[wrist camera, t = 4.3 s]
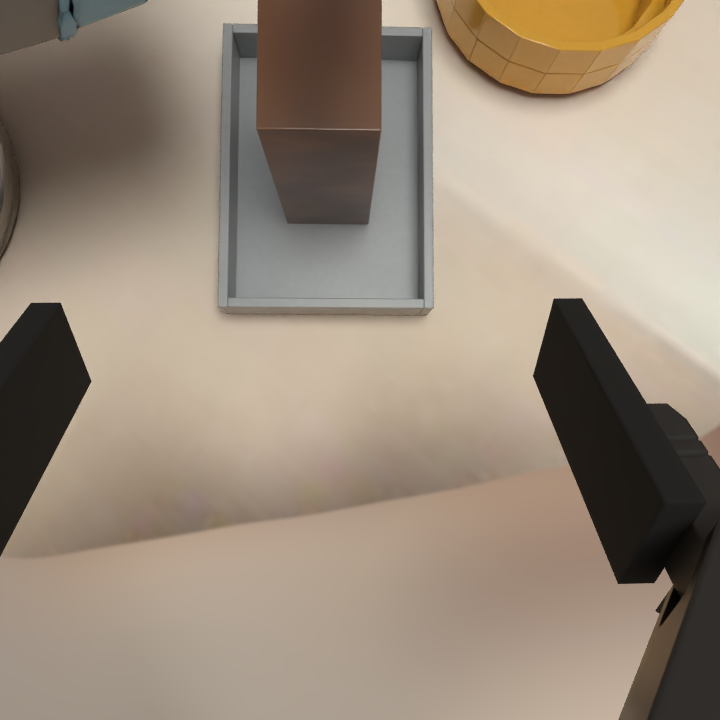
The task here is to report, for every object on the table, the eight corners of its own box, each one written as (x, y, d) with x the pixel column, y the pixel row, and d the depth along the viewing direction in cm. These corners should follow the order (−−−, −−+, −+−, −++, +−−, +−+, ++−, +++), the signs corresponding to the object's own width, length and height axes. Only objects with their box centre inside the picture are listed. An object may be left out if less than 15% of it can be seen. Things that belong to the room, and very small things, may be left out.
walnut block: (287, 223, 31) (255, 129, 20) (288, 118, 31) (258, -31, 20) (368, 224, 31) (381, 131, 20) (368, 120, 31) (381, -28, 20)
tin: (227, 313, 31) (217, 307, 28) (232, 51, 32) (222, 22, 29) (426, 315, 31) (433, 308, 29) (425, 54, 32) (432, 27, 30)
